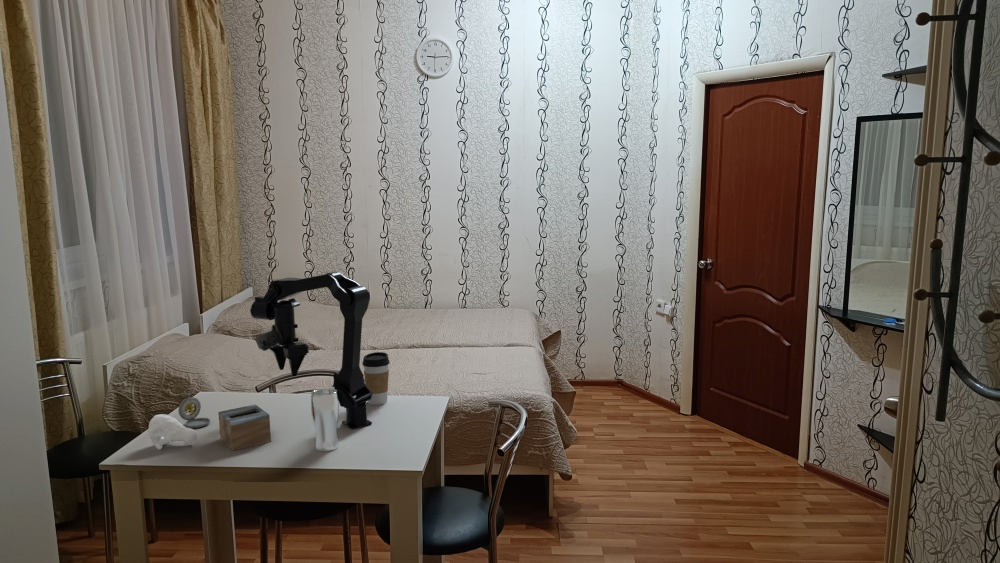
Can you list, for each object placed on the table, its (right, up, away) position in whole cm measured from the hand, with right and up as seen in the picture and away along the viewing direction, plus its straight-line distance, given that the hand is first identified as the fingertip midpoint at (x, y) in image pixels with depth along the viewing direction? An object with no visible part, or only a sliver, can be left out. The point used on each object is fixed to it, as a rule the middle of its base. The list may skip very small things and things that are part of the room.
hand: (287, 372), depth 215 cm
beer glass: (+18, -17, -25) cm, 35 cm away
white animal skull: (-23, -17, -22) cm, 36 cm away
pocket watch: (-25, -14, -6) cm, 29 cm away
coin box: (-6, -16, -19) cm, 25 cm away
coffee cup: (+25, -11, +11) cm, 29 cm away
